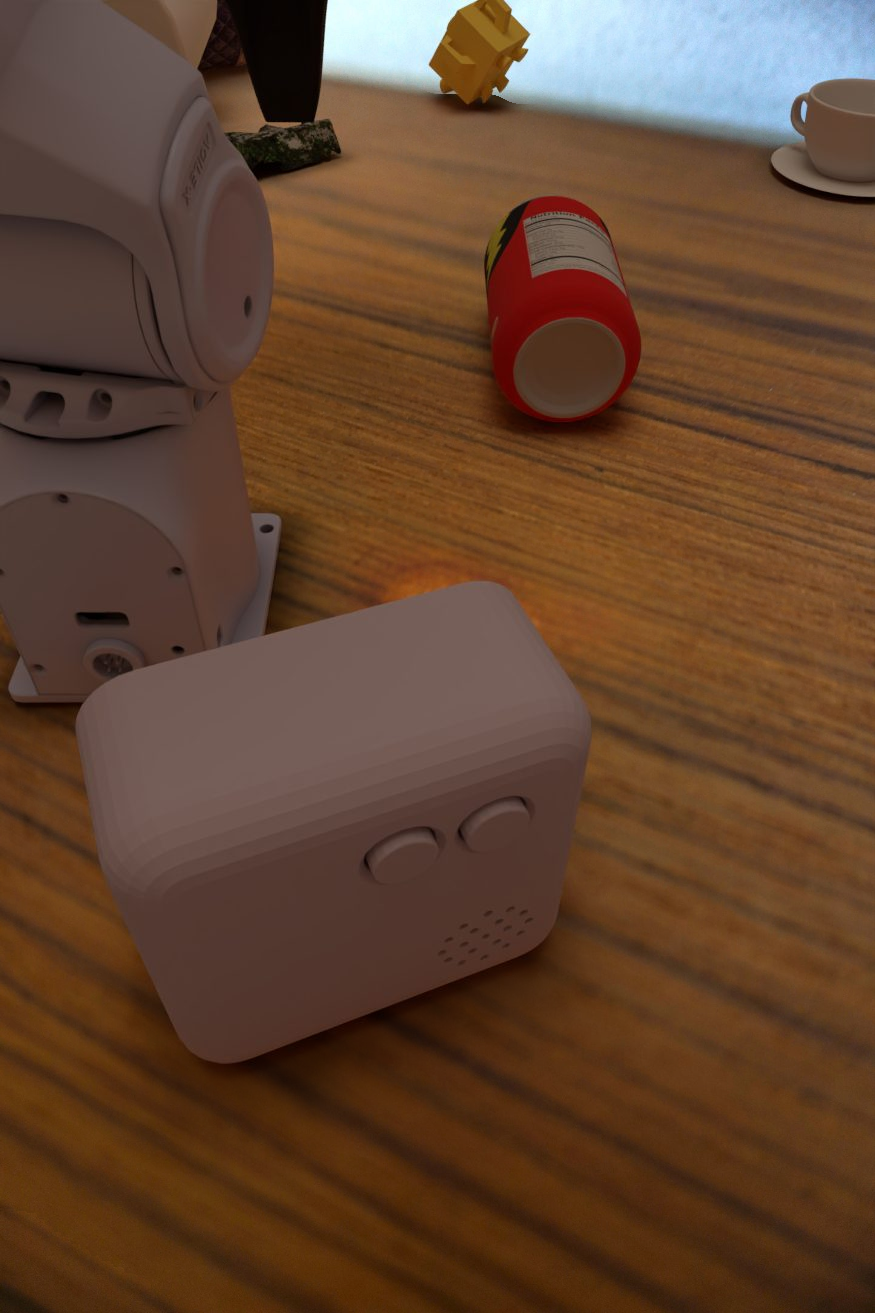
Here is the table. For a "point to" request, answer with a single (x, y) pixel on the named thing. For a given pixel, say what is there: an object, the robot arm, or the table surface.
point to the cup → (173, 22)
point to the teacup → (833, 139)
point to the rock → (287, 144)
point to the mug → (222, 43)
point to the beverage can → (558, 311)
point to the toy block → (479, 50)
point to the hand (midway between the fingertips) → (291, 117)
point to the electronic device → (336, 812)
